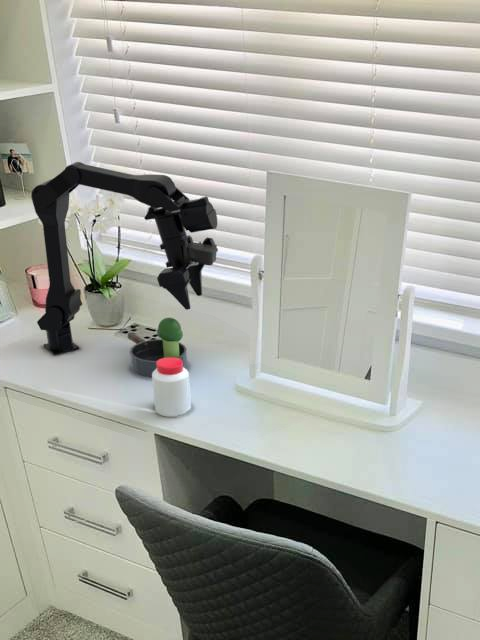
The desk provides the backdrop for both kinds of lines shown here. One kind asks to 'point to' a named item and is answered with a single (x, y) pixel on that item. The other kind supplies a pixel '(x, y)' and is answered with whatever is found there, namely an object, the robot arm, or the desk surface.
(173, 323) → the broccoli
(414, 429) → the desk surface
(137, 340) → the pan handle
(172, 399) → the pill bottle
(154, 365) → the pan
